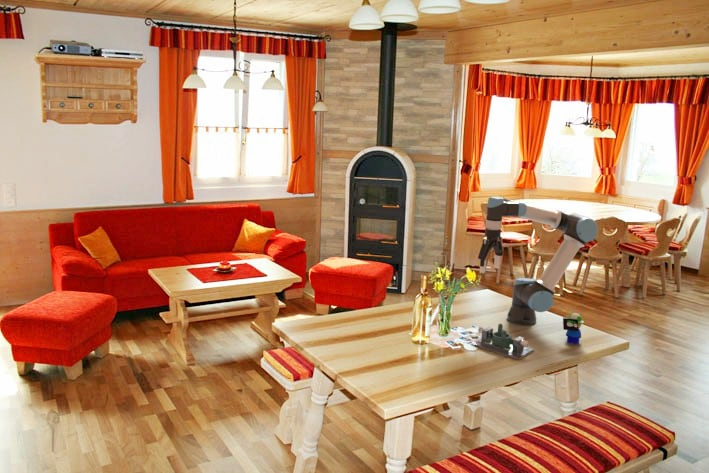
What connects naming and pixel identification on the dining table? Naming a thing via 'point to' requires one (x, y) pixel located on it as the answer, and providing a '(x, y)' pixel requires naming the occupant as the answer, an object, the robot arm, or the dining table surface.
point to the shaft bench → (514, 351)
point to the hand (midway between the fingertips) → (489, 270)
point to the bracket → (501, 338)
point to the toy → (573, 327)
